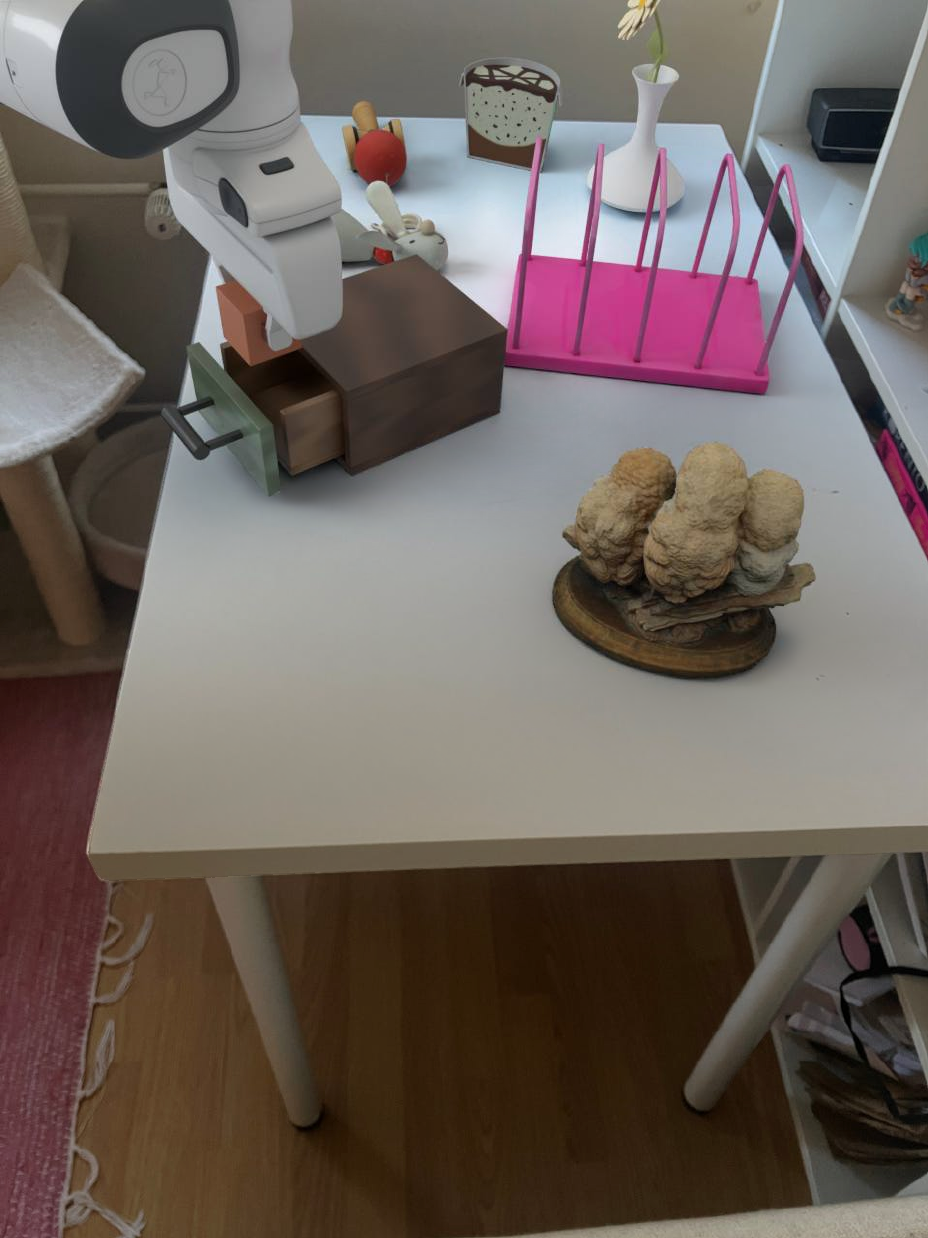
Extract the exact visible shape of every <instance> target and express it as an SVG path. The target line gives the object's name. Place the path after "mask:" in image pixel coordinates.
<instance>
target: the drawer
mask: <svg viewBox="0 0 928 1238" xmlns="http://www.w3.org/2000/svg"><path fill="white" fill-rule="evenodd" d="M185 348H186V354H187V358H188V365H189V368H190V374H191V378H192V383H193V389H194V394H195V399H196V400H194V401H192V402H190V403H189V402H188V403H187V404H184V405H181V406H178V407H177V406H176V405H174V404H167V405H165V406H164V407H163V408H162V409H161V412H160V414H161V415H160V416H161V417H162V419H163V420H164V422H165V423H166V424H167V426H169V428H170V429H171V430H172V431H173V433H174V434H175V435H176V437H177V438H178V439H179V440H180V441H181V443H182V444H183V445H184V447H185V448H186V449H187V450H188V452H189V453H190V454H191V456H192V457H193V458H194V459H195V460H197V461H203V460H205V459H207V458H208V457H209V456H210V453H211V452H212V451H213V450H216V449H219V448H222V447H224V446H226V447H227V448H228V449H229V451H230V452H231V453H232V454H233V456H235V458H236V459H237V460H238V461H239V463H240V464H241V465H242V466H243V468H244V469H245V470H246V471H247V472H248V473H249V474H250V476H251V477H252V478H253V479H254V481H255V482H256V483H257V485H259V487H260V488H261V489H262V490H263V492H265V494H266V495H267V496H268V497H270V496H273V495H276V494H277V493H280V492H282V486H281V479H280V470H279V463H280V465H282V467H283V468H284V469H285V470H286V471H287V473H288V474H289V475H290V476H295V475H297V474H299V473H302V472H305V471H307V470H309V469H311V468H314V467H317V466H319V465H321V464H323V463H326V462H329V461H331V460H333V459H335V458H336V457H338V456H341V455H343V454H345V442H344V424H343V407H342V395H341V394H340V393H339V392H338V391H337V389H336V388H335V387H334V386H333V385H332V384H331V383H330V382H329V381H328V380H327V379H326V378H325V377H324V376H323V375H322V374H321V373H320V372H319V371H318V370H317V369H316V368H315V367H314V366H313V365H312V364H311V363H310V362H309V361H308V360H307V359H306V358H305V357H304V356H303V355H302V354H301V353H300V352H299V351H298V350H295V351H292V352H289V353H287V354H284V355H281V356H278V357H276V358H273V359H270V360H267V361H264V362H262V363H259V364H256V365H253V366H250V365H249V364H248V363H247V362H246V361H245V360H244V359H243V358H242V356H241V355H240V354H239V353H238V352H237V351H236V350H235V349H234V348H233V347H232V346H231V344H230V343H229V342H228V341H227V340H226V341H224V342H221V343H220V344H219V348H220V354H221V360H222V365H223V366H221V365H220V364H219V363H218V361H216V359H215V358H214V357H213V356H212V355H211V354H210V352H209V351H208V350H207V349H206V348H205V347H204V346H203V345H202V343H200V342H199V341H198V342H194V343H192V344H189V345H186V346H185ZM196 412H198V413H199V414H200V416H201V417H202V418H203V419H204V421H205V422H206V423H207V424H208V426H209V427H210V428H211V429H212V430H213V431H214V432H215V434H216V435H217V437H214V438H211V439H209V440H206V441H204V439H203V438H202V437H201V435H200V434H199V433H198V432H197V431H196V429H195V428H194V427H193V426H192V424H191V423H190V422H189V421H188V419H187V418H186V416H188V415H190V414H193V413H196ZM278 462H279V463H278Z"/></svg>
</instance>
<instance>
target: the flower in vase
mask: <svg viewBox="0 0 928 1238" xmlns="http://www.w3.org/2000/svg"><path fill="white" fill-rule="evenodd" d="M661 1H662V0H628V2H627V7H628V8H629V9H630V10H628V11H627V12H626V13H625V14H624V16H623V17H622V19H621V20H620V21H619V23H618V25H617V29H622V30H621V31H620V32H619V34H618V35H617V38H618V39H622V41H625V40H626V41H629V40H630V39H631V38H632V37H635V36H637V34H638V33H639V32H640V30H642V29H643V27H644V26H645V25H646V23H647V21H648V20H650V19H651V18H652V17H653V15H654V19H655V23H656V27H657V29H655V31H653V33H652V34H651V36H650V37H649V39H648V41H647V43H646V44H647V45H646V48H647V51H648V53H649V55H650V56H651V59H652V60H653V61H654V63H644V64H640V65H636V66H635V67H634V68H632V70H631V73H632V77H633V78H634V81H635V83H636V86H637V87H636V88H637V92H638V107H637V108H638V109H637V117H636V123H635V128H634V132H633V135H632V137H631V138H630V140H629V141H628V142H627V143H626V144H624V145H622V146H620V147H619V148H616V149H615V150H613V151H611V152H610V153H608V154H606V155H604V163H603V176H602V190H601V203H603V204H605V205H608V206H610V207H612V208H615V209H619V210H622V211H626V212H636V213H646V212H647V207H648V202H649V197H650V191H651V186H652V181H653V176H654V171H655V166H656V161H657V157H658V153H659V150H660V148H659V146H657V142H656V130H657V124H658V120H659V115H660V112H661V109H662V107H663V106H662V105H663V103H664V101H665V98H666V96H667V94H668V92H669V91H670V90H671V88H672V87H673V86H674V85H675V83H676V82H677V81H678V80H679V79H680V75H679V73H678V71H676V69H674V68H672V67H670V66H667V65H663V64H664V62H665V61H667V60H668V58H669V57H670V54H671V53H670V48H669V46H668V44H667V41H666V39H665V36H664V34H663V29H662V24H661V21H660V17H659V13H658V10H657V8H658V6H659V5H660V3H661ZM594 169H595V163H594V164H593V165H592V166H591V168H590V169H589V171H588V173H587V175H586V184H587V186H588V189H589V191H590V192H591V189H592V183H593V176H594ZM684 194H685V181H684V178H683V175H682V174H681V173H680V171H679V169H678V168H677V167H676V165H675V164H674V163H673V162H672V161H671V160H670V159H669V158H668V157H667V209H669V208H671V207H673V206H674V205H676V204H677V203H678V202H679V201H680V200H681V199H682V197H683V196H684ZM653 212H660V176H659V181H658V186H657V191H656V196H655V201H654V206H653V211H652V213H653Z"/></svg>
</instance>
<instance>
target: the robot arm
mask: <svg viewBox="0 0 928 1238" xmlns="http://www.w3.org/2000/svg"><path fill="white" fill-rule="evenodd" d="M292 5H293V4H292V0H0V104H1V105H4V106H6V107H9V108H11V109H12V110H14V111H16V112H18V113H20V114H22V115H24V116H26V117H28V118H30V119H31V120H33V121H35V122H37V123H39V124H41V125H43V126H44V127H47V128H49V129H50V130H51V131H54V132H56V133H59V134H61V135H63V136H65V137H67V138H69V139H71V140H73V141H74V142H75V143H78V144H80V145H82V146H85V147H87V148H88V149H90V150H92V151H95V152H97V153H99V154H103V155H105V156H109V157H111V158H115V159H120V160H137V159H138V160H139V159H143V158H146V157H150V156H153V155H155V154H157V153H159V152H161V151H162V153H163V163H164V170H165V178H166V179H165V180H166V186H167V193H168V199H169V203H170V206H171V208H172V209H171V210H172V212H173V214H174V216H175V218H176V221H178V223H179V224H180V225H182V226H183V228H184V229H185V230H186V231H187V232H188V234H190V235H191V236H192V237H193V238H194V239H195V240H196V241H197V242H198V243H199V244H200V245H201V246H202V247H203V248H204V249H205V250H206V251H207V252H208V253H209V254H210V255H211V257H212V261H213V264H214V266H215V268H216V271H217V272H218V276H219V278H220V280H221V283H222V284H225V283H228V282H231V281H235V280H237V281H238V282H239V283H240V284H241V285H242V286H243V287H244V288H245V289H246V290H247V291H248V293H249V294H250V295H251V296H252V297H253V298H254V299H255V300H256V301H257V302H258V303H259V304H260V305H261V306H262V307H263V310H264V312H265V313H266V314H267V321H266V322H263V323H261V329H262V334H263V335H262V336H263V340H264V341H265V342H266V343H267V345H268V346H269V347H270V348H271V349H272V350H273V351H278V350H281V349H284V348H287V347H289V346H290V345H291V344H292V337H293V338H294V339H297V340H300V339H305V338H307V337H310V336H313V335H316V334H319V333H322V332H324V331H327V330H330V329H332V328H334V327H335V326H336V325H337V323H338V322H339V320H340V319H341V316H342V311H343V281H342V279H343V262H342V260H341V248H340V241H339V236H338V232H337V229H336V227H335V224H334V222H333V220H332V218H331V217H330V216H332V215H334V214H337V213H339V212H340V211H341V208H342V207H343V199H342V189H341V186H340V183H339V182H338V180H337V178H336V176H335V175H334V173H332V171H331V169H330V167H328V166H327V164H326V163H325V161H324V159H323V158H322V156H321V155H320V153H319V151H318V150H317V148H316V146H315V143H314V142H313V139H312V137H311V135H310V132H309V129H308V128H307V125H306V124H305V123H304V122H302V119H301V107H300V94H299V90H298V86H297V83H296V80H295V77H294V75H293V71H292V68H291V61H290V60H291V59H290V52H291V51H290V50H291V44H292V39H293V32H294V20H293V18H294V17H293V6H292ZM342 209H343V208H342Z"/></svg>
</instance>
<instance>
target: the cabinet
mask: <svg viewBox="0 0 928 1238" xmlns="http://www.w3.org/2000/svg"><path fill="white" fill-rule="evenodd" d="M342 281H343V311H342V316H341V319H340V320H339V322H338V323H337V325H336V326H335V327H334V328H332V329H330V330H327V331H324V332H322V333H319V334H316V335H313V336H310V337H307V338H305V339H301V344H302V348H300V349H298V351H299V352H300V353H301V354H302V355H303V356H304V357H305V358H306V359H307V360H308V361H309V362H310V363H311V364H312V365H313V366H314V367H315V368H316V369H317V370H318V371H319V372H320V373H321V374H322V375H323V376H324V377H325V378H326V379H327V380H328V381H329V382H330V383H331V384H332V385H333V386H334V387H335V388H336V389H337V391H338V392H339V393H340V394H341V395H342V407H343V424H344V442H345V454H343V455H341V456H338V457H336V458H334V459H335V460H336V461H337V462H338V463H339V464H340V465H341V467H342V468H343V469H344V470H345V471H346V472H347V474H349V475H350V476H351V477H352V476H354V475H357V474H360V473H361V472H364V471H366V470H369V469H371V468H373V467H376V466H378V465H381V464H383V463H385V462H387V461H390V460H392V459H394V458H397V457H400V456H402V455H404V454H406V453H409V452H411V451H413V450H415V449H418V448H420V447H423V446H425V445H427V444H429V443H432V442H434V441H437V440H439V439H441V438H443V437H446V436H448V435H450V434H453V433H455V432H458V431H460V430H462V429H465V428H467V427H469V426H472V425H474V424H476V423H478V422H481V421H484V420H486V419H488V418H491V417H492V416H495V415H497V414H500V413H501V407H502V406H501V404H502V396H503V395H502V394H503V387H504V386H503V384H504V373H505V365H504V364H505V354H506V343H507V333H508V327H506V326H504V325H503V324H502V323H501V322H500V321H498V320H497V319H496V318H495V317H493V316H492V315H491V314H490V313H489V312H487V311H486V309H483V307H481V306H480V305H479V304H478V303H476V301H474V300H473V299H471V297H469V295H467V294H466V293H465V292H463V291H462V290H461V289H460V288H458V286H456V285H455V284H454V283H452V282H451V281H450V280H449V279H447V278H446V276H444V275H442V274H441V273H440V272H439V270H435V269H434V268H433V267H432V266H430V265H429V264H428V263H427V262H426V261H424V260H423V259H422V258H421V257H420V256H418V255H417V254H415V255H413V256H410V257H407V258H404V259H401V260H398V261H393V262H392V263H389V264H382V265H380V266H377V267H373V268H371V269H368V270H366V271H362V272H359V273H355V274H352V275H350V276H347V277H344V278H342Z"/></svg>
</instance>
